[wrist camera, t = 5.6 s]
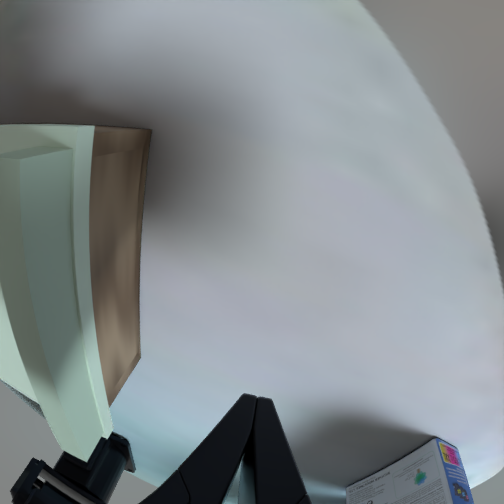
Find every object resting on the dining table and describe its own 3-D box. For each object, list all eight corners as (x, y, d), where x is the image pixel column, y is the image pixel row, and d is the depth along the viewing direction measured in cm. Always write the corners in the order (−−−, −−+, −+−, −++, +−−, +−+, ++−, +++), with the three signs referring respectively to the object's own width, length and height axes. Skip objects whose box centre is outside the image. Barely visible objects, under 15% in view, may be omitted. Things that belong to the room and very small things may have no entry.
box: (140, 358, 17) (104, 415, 13) (-18, 286, 18) (-57, 315, 14) (151, 129, 12) (82, 134, 8) (-31, 126, 13) (-84, 137, 9)
